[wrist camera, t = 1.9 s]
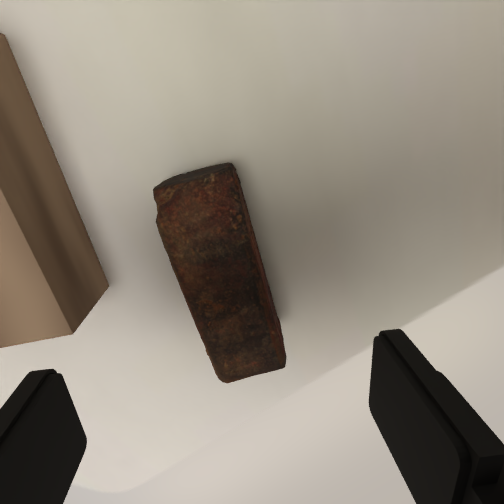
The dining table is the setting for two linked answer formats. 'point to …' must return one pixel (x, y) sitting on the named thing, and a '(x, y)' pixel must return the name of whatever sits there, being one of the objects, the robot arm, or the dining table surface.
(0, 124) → the beige box
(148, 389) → the dining table surface
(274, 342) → the brick
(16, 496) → the robot arm
